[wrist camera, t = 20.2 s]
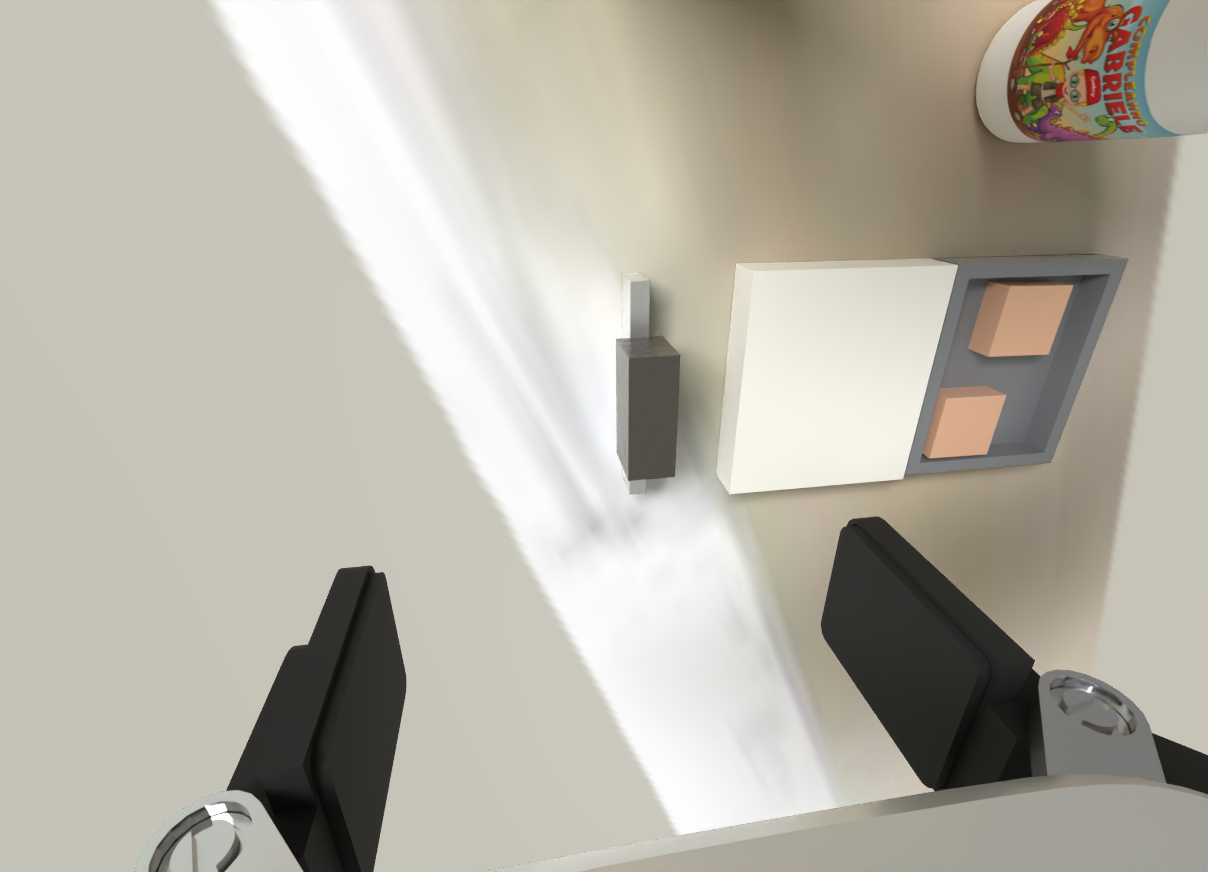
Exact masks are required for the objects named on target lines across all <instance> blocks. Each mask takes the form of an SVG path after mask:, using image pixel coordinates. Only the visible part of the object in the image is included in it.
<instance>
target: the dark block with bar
mask: <svg viewBox="0 0 1208 872" xmlns="http://www.w3.org/2000/svg"><path fill="white" fill-rule="evenodd" d="M649 304H650V280H649V279H647V278H646V277H645V276H644V275H642V274H641V273H622V339H616V395H617V454H618V456H619V459H620V461H621V464H622V476H623V479H624V482H625V484H626V487H627V489H628V492H629V494H640V493H646V479H655V478H666V477H675V460H676V437H677V415H678V392H679V370H680V354H679V353H678V352H677V351H676V350H675V349H674V348H673V347H672V346H671V345H670V344H669V342H668V341H667V340H666V339H665V338H664V337H663V336H657V337H649Z"/></svg>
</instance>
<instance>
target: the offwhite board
mask: <svg viewBox="0 0 1208 872" xmlns="http://www.w3.org/2000/svg"><path fill="white" fill-rule="evenodd" d="M957 268H958V265H956V264H951V263H947V262H942V261H938V260H933V259H929V258H920V259H883V260H846V261H809V262H772V263H736V270H735V281H734V291H733V302H732V312H731V323H730V333H729V343H728V354H727V364H726V375H725V385H724V396H723V406H722V417H721V427H720V437H719V448H718V458H717V469H716V475H717V477H718V478H719V480H720V481H721V483H722V484H723V485H724V487H725V488H726V490H727V491H728V493H729V494H738V493H750V492H761V491H772V490H784V489H795V488H807V487H818V486H830V485H841V484H853V483H864V482H876V481H887V480H898V479H903V477H904V474H905V470H906V466H907V462H908V458H909V454H910V450H911V446H912V443H913V439H914V435H915V431H916V427H917V423H918V419H919V415H920V412H921V408H922V404H923V400H924V396H925V392H926V388H927V385H928V381H929V377H930V373H931V369H932V365H933V361H934V357H935V354H936V350H937V346H938V342H939V338H940V334H941V330H942V326H943V323H944V319H945V315H946V311H947V307H948V303H949V299H950V295H951V292H952V288H953V284H954V280H955V276H956V272H957Z"/></svg>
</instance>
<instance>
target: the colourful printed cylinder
mask: <svg viewBox="0 0 1208 872" xmlns="http://www.w3.org/2000/svg"><path fill="white" fill-rule="evenodd" d="M976 103H977V108H978V111H979V116H980V118H981V119H982V121H983V123H984V125H985V126H986V127H987V128H988V129H989V131H990V132H991V133H993V134H994V135H995V136H997V137H998V138H1000V139H1002V140H1005V141H1008V142H1015V143H1035V142H1062V141H1086V140H1110V139H1129V138H1149V137H1167V136H1179V135H1191V134H1202V133H1208V0H1036V1H1034V2H1032V3H1030V4H1028V5H1026V6H1025V7H1023V8H1022V9H1021V10H1019V11H1018V12H1017V13H1016V14H1014V15H1013V16H1012V17H1011V18H1010V19H1009V20H1008V21H1007V22H1006V23H1005V24H1004V25H1003V26H1002V27H1001V29H1000V30H999V31H998V33H997V34H996V35H995V37H994V38H993V39H992V41H991V43H990V45H989V47H988V48H987V50H986V52H985V54H984V57H983V60H982V62H981V65H980V68H979V73H978V77H977V84H976Z"/></svg>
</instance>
